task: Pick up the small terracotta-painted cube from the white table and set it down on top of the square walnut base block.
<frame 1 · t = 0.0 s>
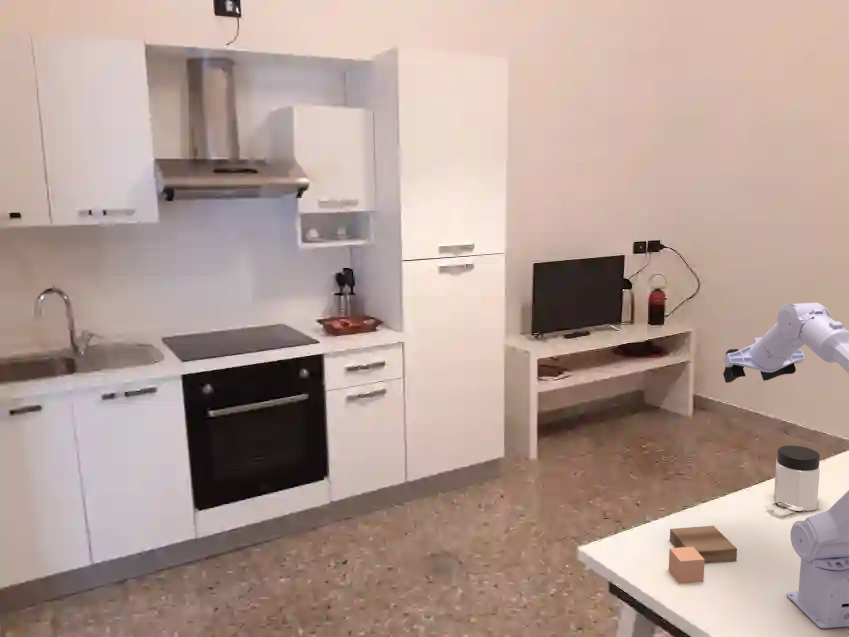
hand: (744, 377, 137), 32 cm above the table, tool tilted 50°, fingers open, 7 cm apart
base block: (702, 550, 135), on the table
cube: (685, 576, 126), on the table
jar: (794, 504, 152), on the table
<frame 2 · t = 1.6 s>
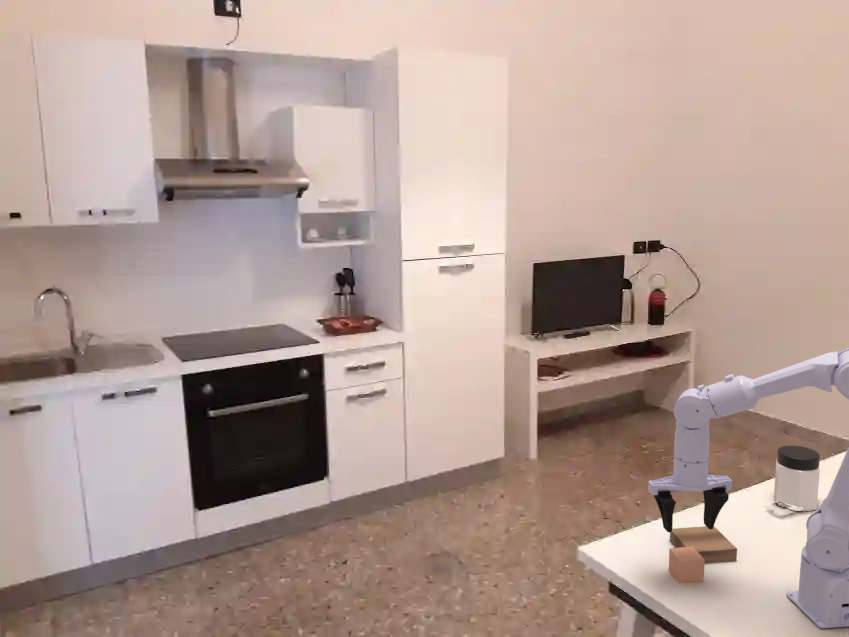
hand: (687, 528, 124), 9 cm above the table, tool pointing down, fingers open, 7 cm apart
nothing on the table moved.
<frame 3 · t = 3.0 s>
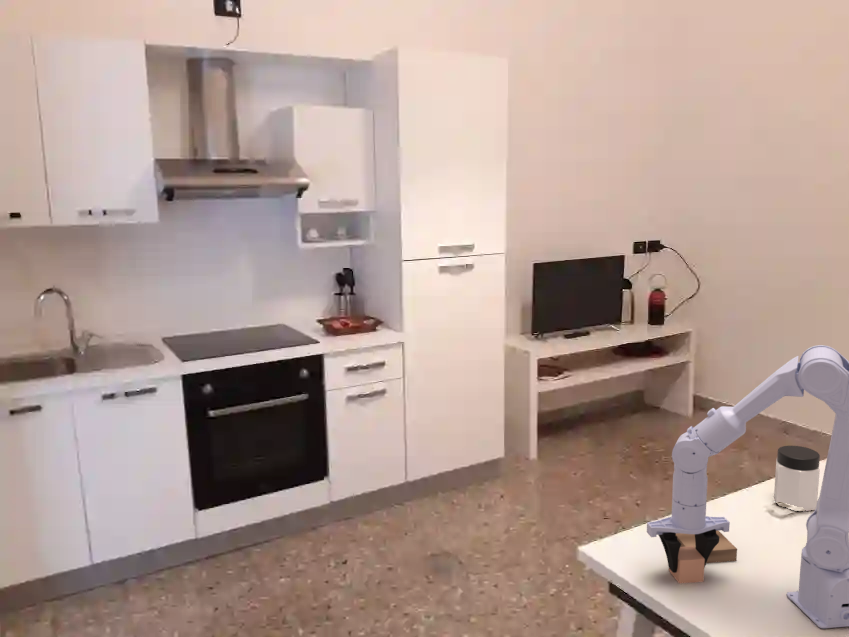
hand: (686, 568, 126), 1 cm above the table, tool pointing down, fingers closed on cube, 4 cm apart
cube: (685, 575, 126), on the table, touching gripper
everything else where it was.
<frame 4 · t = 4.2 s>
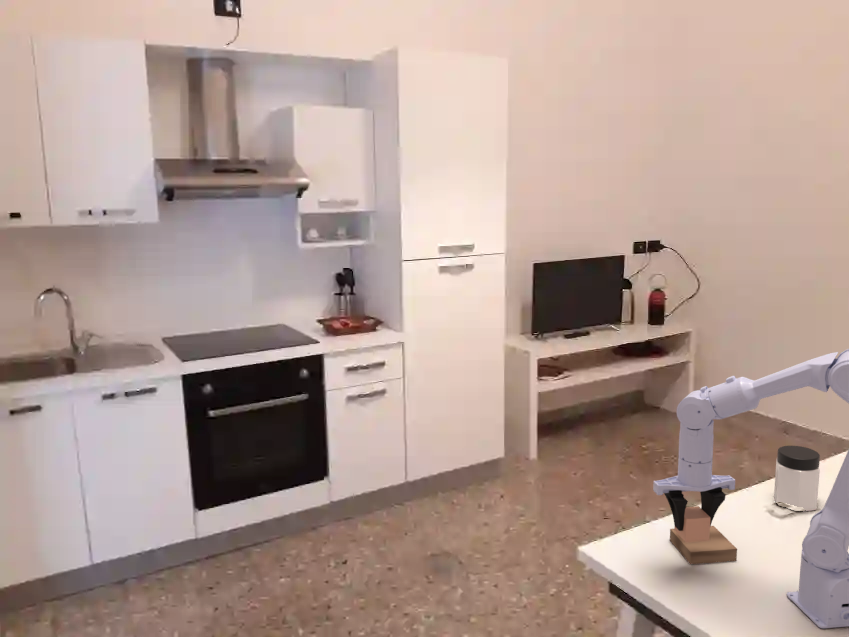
hand: (692, 527, 127), 8 cm above the table, tool pointing down, fingers closed on cube, 4 cm apart
cube: (691, 535, 127), point 7 cm above the table, touching gripper
everything else where it was.
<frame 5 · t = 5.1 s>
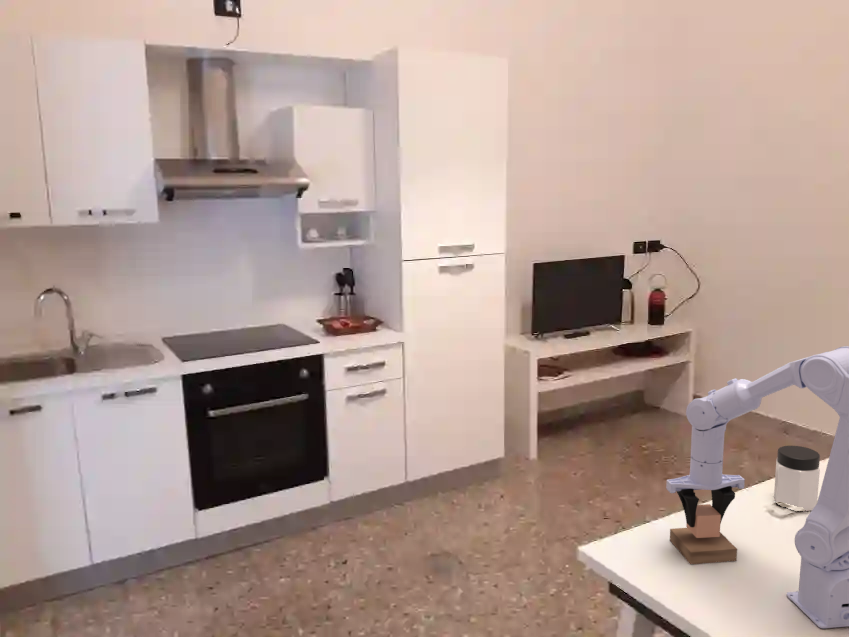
hand: (703, 523, 134), 6 cm above the table, tool pointing down, fingers closed on cube, 4 cm apart
cube: (702, 531, 134), point 4 cm above the table, touching gripper
everything else where it was.
when the fingers open (5 cm above the table, at t = 5.7 s): cube stays where it is, resting on base block.
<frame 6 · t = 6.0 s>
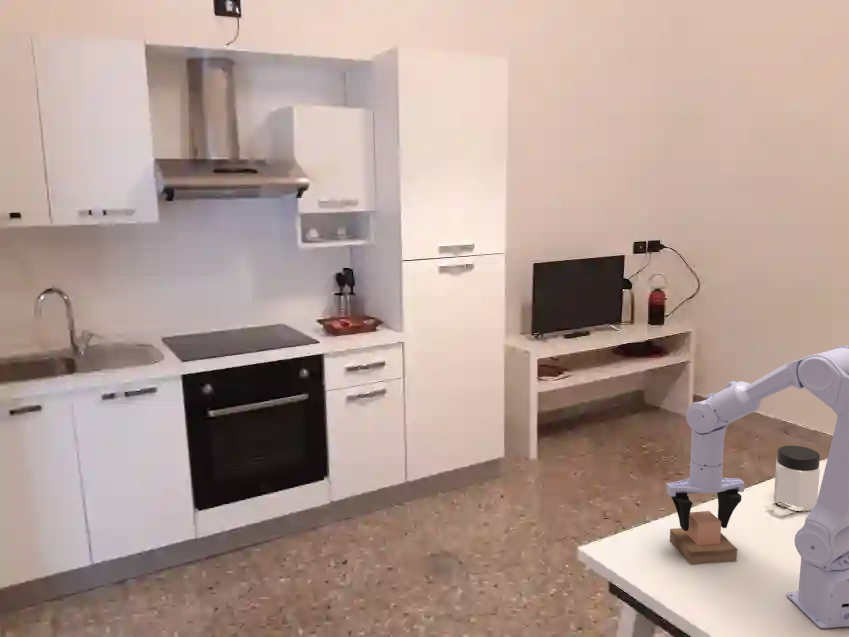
hand: (703, 527, 134), 5 cm above the table, tool pointing down, fingers open, 7 cm apart
cube: (702, 538, 134), point 2 cm above the table, touching base block
everything else where it was.
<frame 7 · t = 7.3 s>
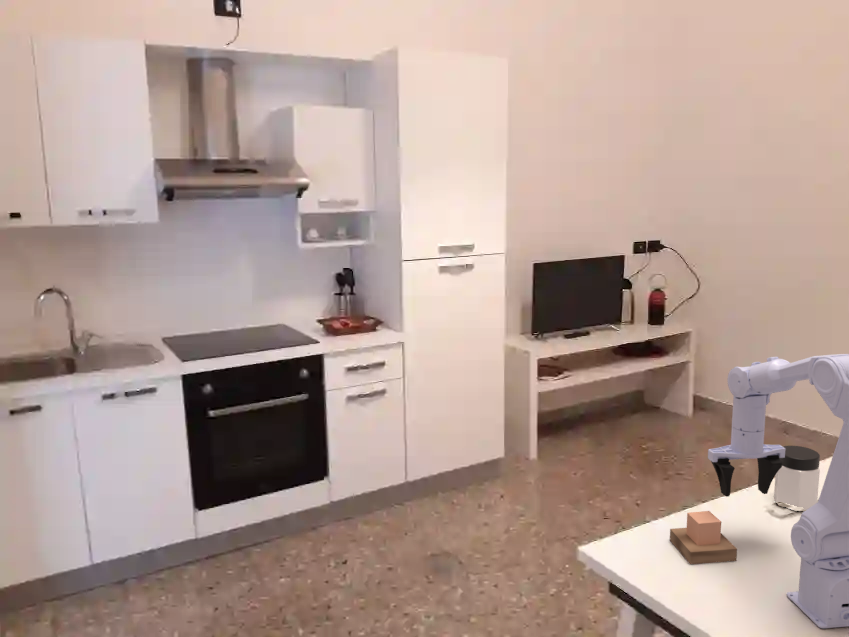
hand: (743, 493, 135), 10 cm above the table, tool pointing down, fingers open, 7 cm apart
nothing on the table moved.
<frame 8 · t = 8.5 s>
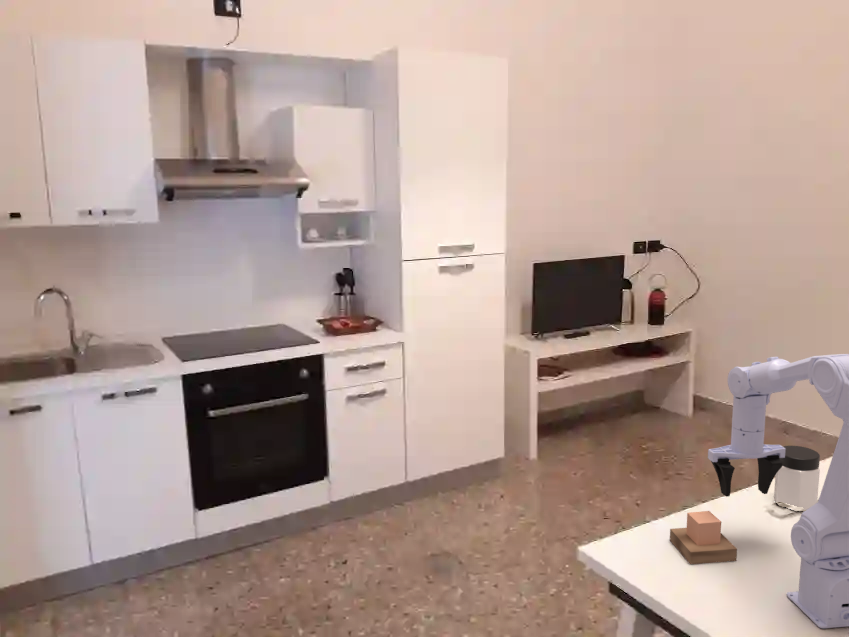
hand: (744, 493, 135), 10 cm above the table, tool pointing down, fingers open, 7 cm apart
nothing on the table moved.
at the end: cube 0.0 cm off-centre on the base block, point 2.5 cm above the base block's base; cube tilted 0°; the gripper is holding nothing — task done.
